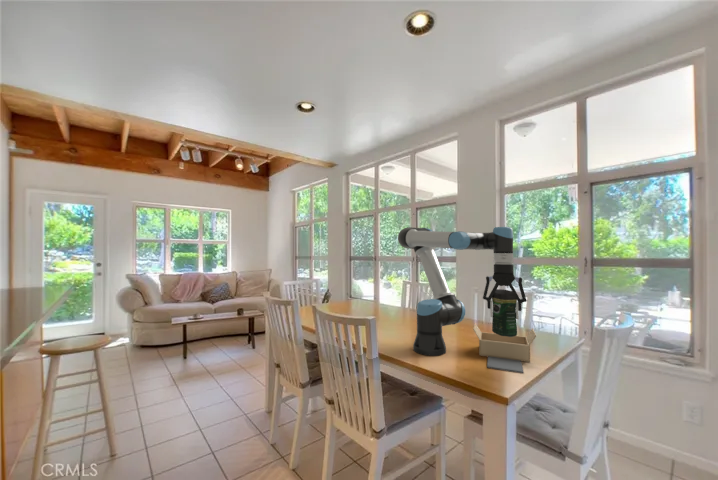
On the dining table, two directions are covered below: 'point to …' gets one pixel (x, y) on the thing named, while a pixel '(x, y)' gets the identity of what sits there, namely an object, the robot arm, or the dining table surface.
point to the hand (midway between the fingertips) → (504, 317)
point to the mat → (505, 364)
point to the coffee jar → (504, 313)
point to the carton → (505, 345)
